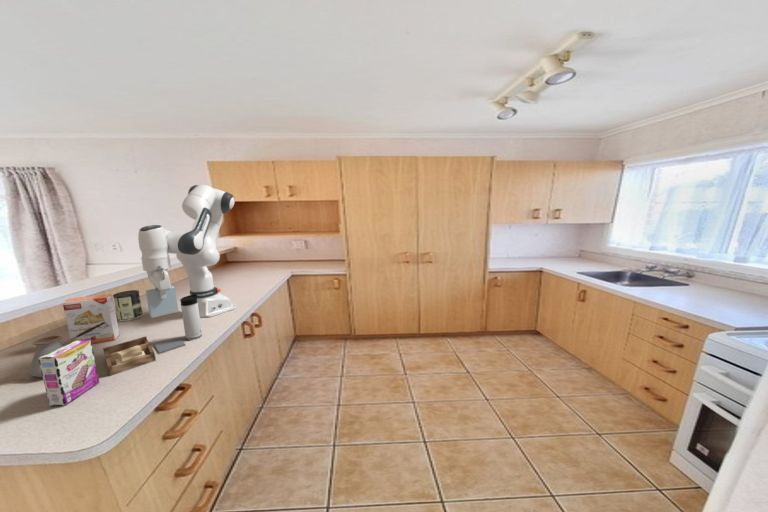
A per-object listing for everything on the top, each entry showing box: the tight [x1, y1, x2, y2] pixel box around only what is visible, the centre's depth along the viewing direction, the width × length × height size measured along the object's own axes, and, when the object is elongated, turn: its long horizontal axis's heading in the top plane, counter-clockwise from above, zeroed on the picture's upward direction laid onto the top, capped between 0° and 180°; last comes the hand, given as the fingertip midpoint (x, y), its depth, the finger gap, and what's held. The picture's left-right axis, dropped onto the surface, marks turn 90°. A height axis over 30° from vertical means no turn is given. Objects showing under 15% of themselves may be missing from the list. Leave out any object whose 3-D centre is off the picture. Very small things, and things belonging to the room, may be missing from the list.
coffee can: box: [112, 289, 144, 322], centre depth 146 cm, size 10×10×14 cm
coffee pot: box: [27, 322, 108, 379], centre depth 102 cm, size 21×12×15 cm, turn 134°
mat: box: [153, 336, 186, 355], centre depth 118 cm, size 9×10×1 cm
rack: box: [102, 336, 157, 377], centre depth 106 cm, size 13×16×5 cm
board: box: [145, 285, 179, 319], centre depth 114 cm, size 9×4×11 cm, turn 140°
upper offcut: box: [117, 345, 142, 362], centre depth 103 cm, size 6×3×3 cm, turn 153°
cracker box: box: [62, 293, 120, 345], centre depth 120 cm, size 14×6×21 cm, turn 117°
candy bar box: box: [38, 340, 100, 407], centre depth 86 cm, size 11×5×16 cm, turn 5°
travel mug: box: [179, 294, 203, 341], centre depth 124 cm, size 6×7×20 cm
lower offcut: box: [115, 351, 145, 365], centre depth 104 cm, size 8×4×4 cm, turn 140°
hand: (161, 296), depth 114 cm, fingers closed on board, 4 cm apart
